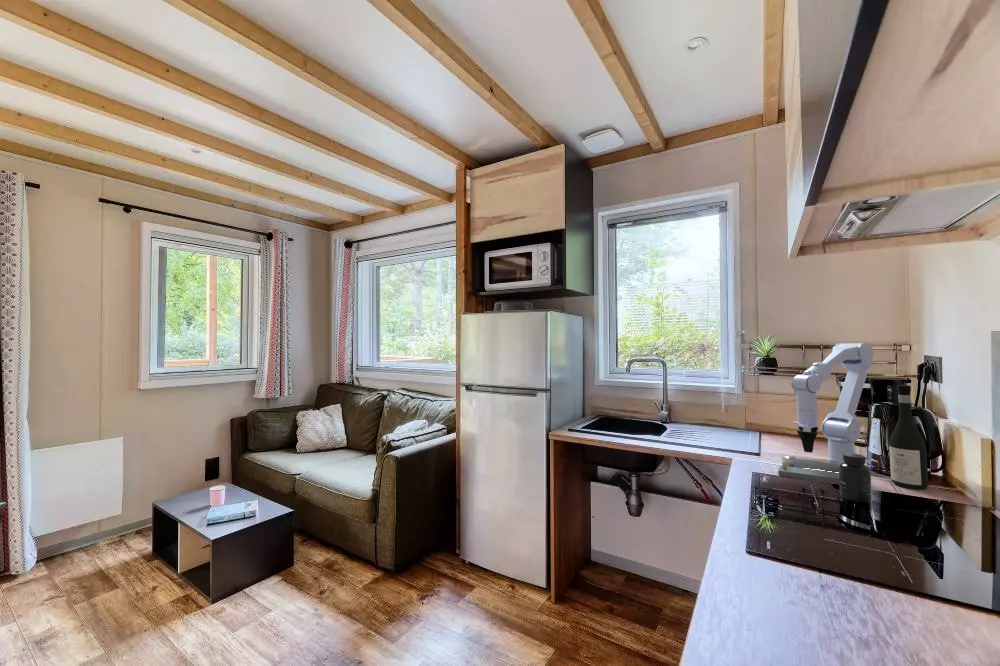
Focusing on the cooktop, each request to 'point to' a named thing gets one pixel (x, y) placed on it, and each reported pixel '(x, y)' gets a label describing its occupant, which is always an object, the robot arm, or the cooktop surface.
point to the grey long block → (811, 463)
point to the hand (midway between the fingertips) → (808, 449)
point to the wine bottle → (907, 447)
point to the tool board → (808, 474)
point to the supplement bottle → (855, 478)
